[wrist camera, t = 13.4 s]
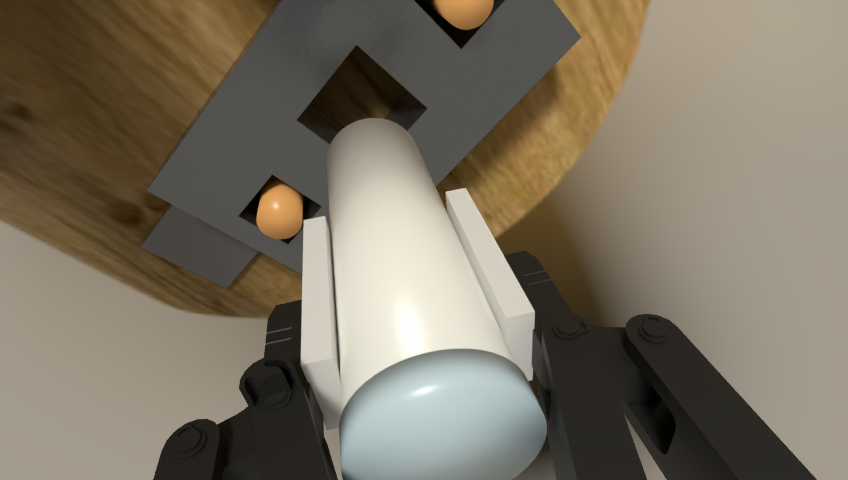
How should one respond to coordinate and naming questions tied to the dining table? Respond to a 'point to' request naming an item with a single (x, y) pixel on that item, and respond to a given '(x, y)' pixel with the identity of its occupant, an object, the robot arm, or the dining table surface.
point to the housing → (314, 131)
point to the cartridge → (416, 327)
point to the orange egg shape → (462, 11)
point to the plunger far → (279, 209)
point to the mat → (198, 247)
